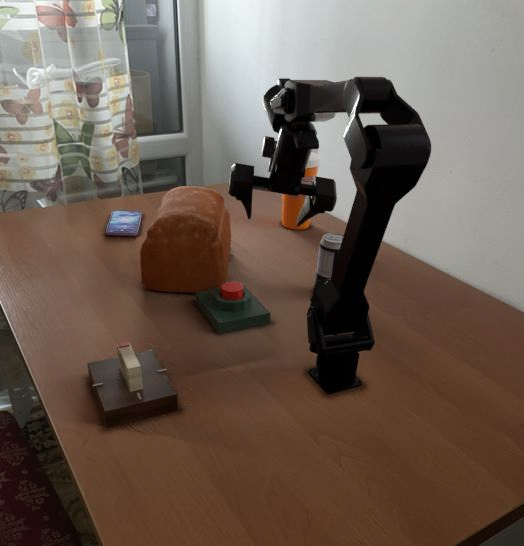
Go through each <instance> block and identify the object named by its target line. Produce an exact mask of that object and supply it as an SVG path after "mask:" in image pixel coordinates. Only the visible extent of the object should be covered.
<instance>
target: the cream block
mask: <svg viewBox="0 0 524 546" xmlns="http://www.w3.org/2000/svg"><path fill="white" fill-rule="evenodd" d="M116 351H117V357H118V361H119V367H120V370H121V372H122V374H123V377H124V379H125V381H126V383H127V386H128V388H129V390H130V392H132V391H136V390H141V389H143V386H142V375H141V366H140V364H139V362H138V360H137V358H136V355H135V353H136V352H135V351H134V350H133V347H132V345H131V343H130V342H129V341H122V342H117V344H116Z"/></svg>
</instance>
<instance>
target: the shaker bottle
mask: <svg viewBox="0 0 524 546" xmlns="http://www.w3.org/2000/svg"><path fill="white" fill-rule="evenodd" d="M319 150H320V148H318V149H312V151H311V154H310V158H309V161H308V164H307V167H306V170H305V176H304V178H303V180H302V182H307V183H312V181H313V178H314V177H315V176H317V177H318V170H319V166H320V161H321V156H320V154H319ZM305 199H306V195H300V194H299V195H298V196H294V195H287V194H282V209H281V210H282V211H281V213H282V214H281V224H282V226H283V227H285V228H287V229H290V230H305V229H308V228H309V227H310V223H311V218H310V219H308V220H307V221H305V222H304V223H303V224H301V225H300V226H299V227H297V226H296V222H297V218H298V215H299V213H300V211H301V208H302V206H303V204H304V202H305Z"/></svg>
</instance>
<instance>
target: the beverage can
mask: <svg viewBox="0 0 524 546" xmlns="http://www.w3.org/2000/svg"><path fill="white" fill-rule="evenodd" d="M343 236H344V234H343V233H338V232H328V233H325V234H323V235H322V238H321V240H320V242H319V247H318V256H317V264H316V274H315V280H314V281H315V282H314V285H315V284H316V282H317V281H318V280H325V279H331V277H332V273H333V270H334V267H335V263H336V260H337V256H338V253H339V250H340V246H341V243H342V239H343Z"/></svg>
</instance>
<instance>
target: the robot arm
mask: <svg viewBox="0 0 524 546" xmlns="http://www.w3.org/2000/svg"><path fill="white" fill-rule="evenodd" d="M262 106H263V107H264V108H263V109H264V111H265V113H266V115H267V118H268V120H269V123H270V126H271V128H272V131H273V132H274V133H276V134H278V139H277V140H275V137H273V136H268V135H264V137H263V141H262V146H261V152H260V153H261V157H262V158H267V159H270V160H269V163H268V168H267V172H268V173H269V175H268V177H267V176H259V175H255V165H250V164H244V163H239V162H234V163H233V164H231V166H230V171H229V182H228V183H229V184H228V195H229V196H231V197H233V198H235V200H236V201H239V202H241V204H242V206H243V208H244V210H245V214H246V216H247V219H248V220H251V219H252V214H253V213H252V210H253V191H254V190H256V191H261V192H269V193H277V194H281V195H283V194H287V195H294V196H298V195H299V194H300V195H306V199H305V202H304V204H303V206H302V208H301V211H300V213H299V215H298V218H297V222H296V226H297V227H299V226H300V225H301V224H303V223H304V222H305V221H307V220H308V219H310V220H311V218H314V217H316V216H317V215H318V214H319V215H320V214H321V215H322V214H323V215H324V214H325V213H326V212H329V213H332V211H334V210H335V207H336V204H337V200H338V197H337V196H338V195H337V183H336V180H335V179H334V178H328V177H323V176H318V175H317V176H315V177H314V178H313V181H312V183H307V182H302V180H303V178H304V176H305V170H306V167H307V164H308V161H309V158H310V154H311V151H312V149H320V140H319V138H318V132H317V129H316V127H315V125H314V124H313V123H319V122H320V123H321V122H322V123H324V122H327V121H330V120H332V119H334V118H335V117H336V114H347V116H348V120H347V124H346V126H345V130H344V135H343V140H344V144H345V147H346V148H347V149H346V150H347V151H348V154H349V157H350V163H349V164H350V165H349V172H350V174H351V177H352V180H353V182H354V183H353V184H354V186H355V188H356V191H355V195H354V198H353V203H352V205H351V209H350V213H349V215H348V220H347V223H346V226H345V230H344V233H343V235H344V236H343V239H342V243H341V246H340V250H339V253H338V256H337V260H336V263H335V267H334V270H333V273H332V277H331V279H325V280H318V281H317V282H316V284H315V283H314V284H313V285H314V286H313V292H312V295H311V297H310V298H309V301H310V305H309V307H308V309H307V313H306V327H307V330H306V331H307V340H308V343H309V346H308V347H309V351H310V353H312V354H315V355H316V363H315V367H311V368H308V369H307V374H308V375H309V376H310V377H311V379H313V381H314V382H315V383H316V384H317V385H318V386H319V388H320V389H321V390H322V391H323V392H324V393H325V394H326V395H333V394H337V393H341V392H344V391H348V390H351V389H355V388H358V387H361V386H363V381H362V379H360V377H358V376H357V372H358V365H359V360H360V356H361V355H360V352H365V351H366V352H368V351H372V349H373V348H374V346H375V343H376V340H375V337H374V332H373V327H372V323H371V320H370V319H371V318H370V315H369V312H370V307H371V306H370V303H369V300H368V298H367V296H366V293H365V290H366V286H367V283H368V281H369V279H370V275H371V272H372V270H373V267H374V264H375V262H376V258H377V256H378V253H379V250H380V247H381V246H382V242H383V239H384V237H385V234H386V232H387V228H388V225H389V222H390V220H391V217H392V214H393V211H394V209H395V206H396V205H397V204H398V202H399V201H401V200H402V199H403V198H404V197H405V196H406V195H408V194H409V193H410V192H411V191H412V190H413V189H414V188H415V187H416V186H417V185H418V182H419V181H420V179H421V177H422V175H423V173H424V171H425V169H426V168H427V165H428V164H429V161H430V158H431V154H432V142H431V138H430V136H429V134H428V132H427V129H426V127H425V125H424V122H423V120H422V118H421V116H420V114H419V112H418V111H417V110H416V109H415V108H413V107H412V106H411V105H410V104H409V103H408V102H407V101H406V100H404V99H403V97H402V96H400V95H399V94H398V91H397V90H396V87H395V86H394V83H393V81H391V79H388V78H387V77H384V76H354V77H353V78H350V79H348V80H341V81H335V82H334V81H331V80H328V79H291V78H289V77H288V78H281V77H279V78H278V80H277V84H275V85H273V86H271V87H270V88H269V89H268V90H267V91H266V92H265V94H263V97H262ZM374 114H378V115H379V116H380V118H381V120H383V121H384V124H383V123H382V124H366V125H365V126H364V125H363V123H362V122H363V121H362V120H361V117H360V115H374ZM385 123H386V124H385Z"/></svg>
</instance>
